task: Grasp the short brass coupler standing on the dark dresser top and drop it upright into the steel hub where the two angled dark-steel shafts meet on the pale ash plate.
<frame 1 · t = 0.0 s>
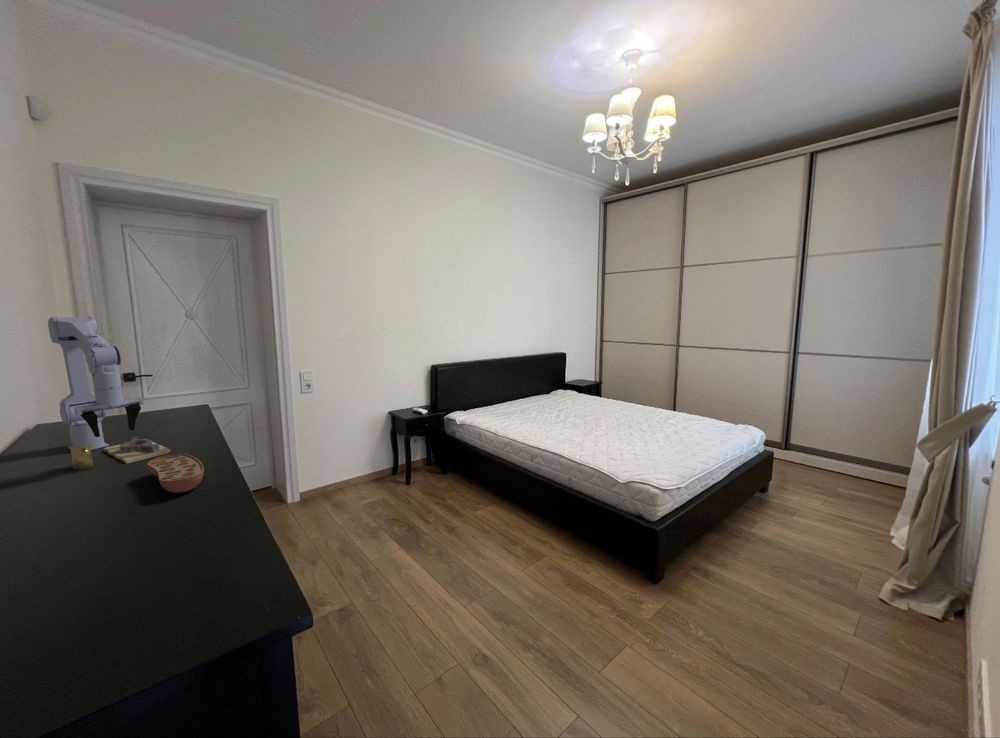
hand: (114, 432, 118), 10 cm above the dresser, fingers open, 7 cm apart
coupling plate: (137, 451, 130), on the dresser
brass coupler: (83, 466, 118), on the dresser
anatomical model: (179, 483, 108), on the dresser
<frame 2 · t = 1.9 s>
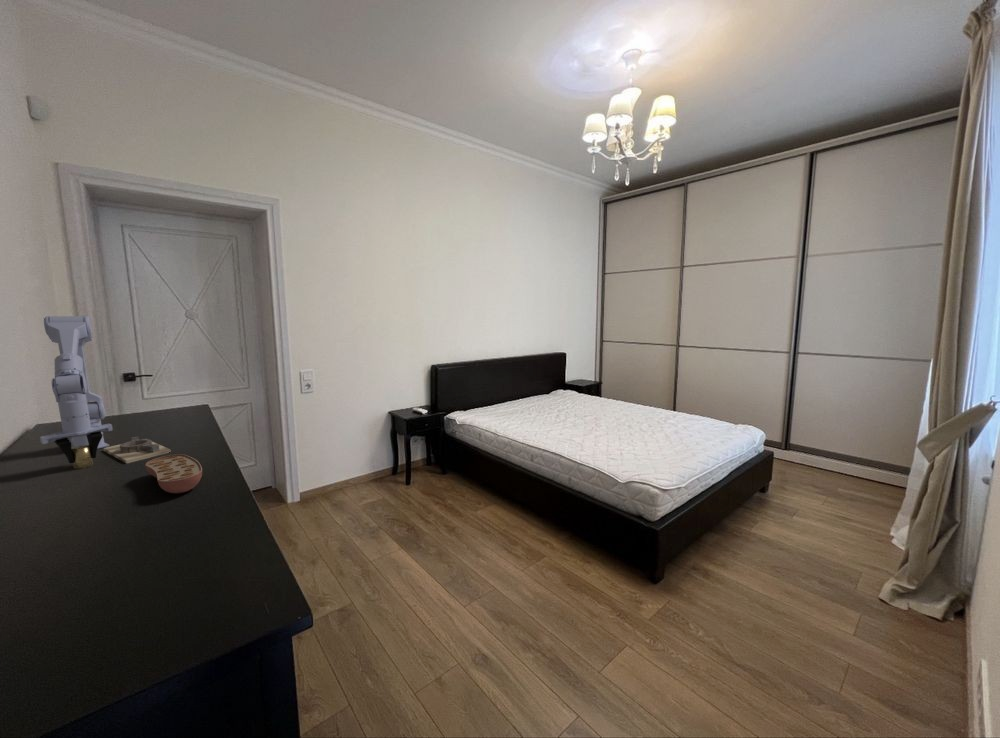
hand: (82, 460, 118), 2 cm above the dresser, fingers closed on brass coupler, 4 cm apart
brass coupler: (83, 466, 118), on the dresser, touching gripper
everything else where it was.
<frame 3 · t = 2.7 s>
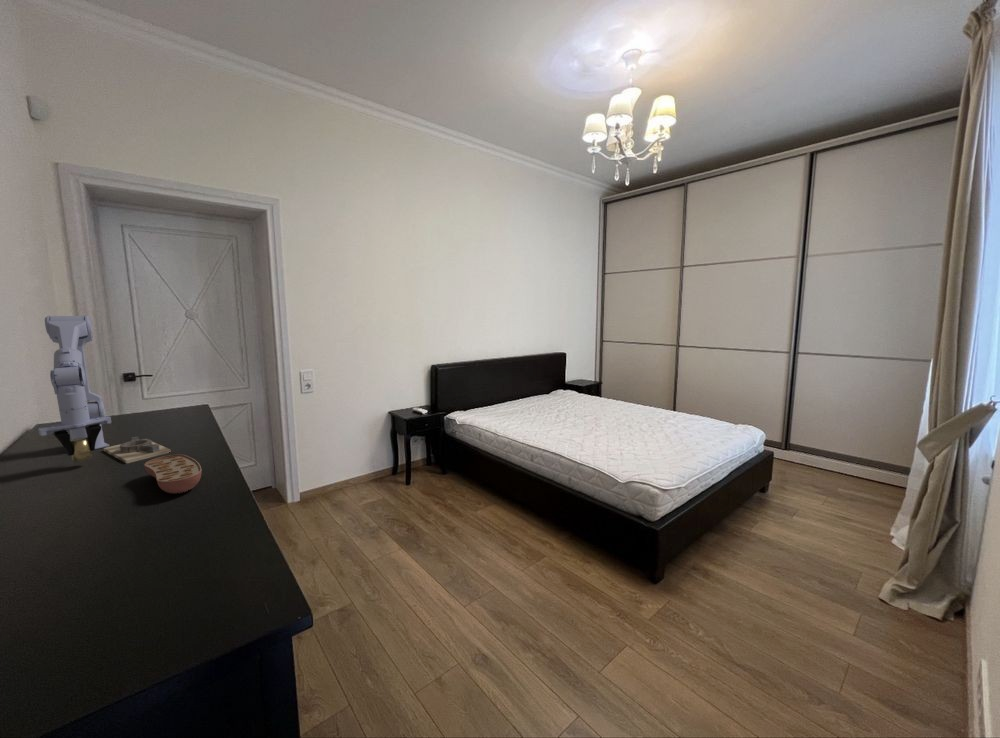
hand: (81, 452, 118), 4 cm above the dresser, fingers closed on brass coupler, 4 cm apart
brass coupler: (82, 458, 118), point 2 cm above the dresser, touching gripper
everything else where it was.
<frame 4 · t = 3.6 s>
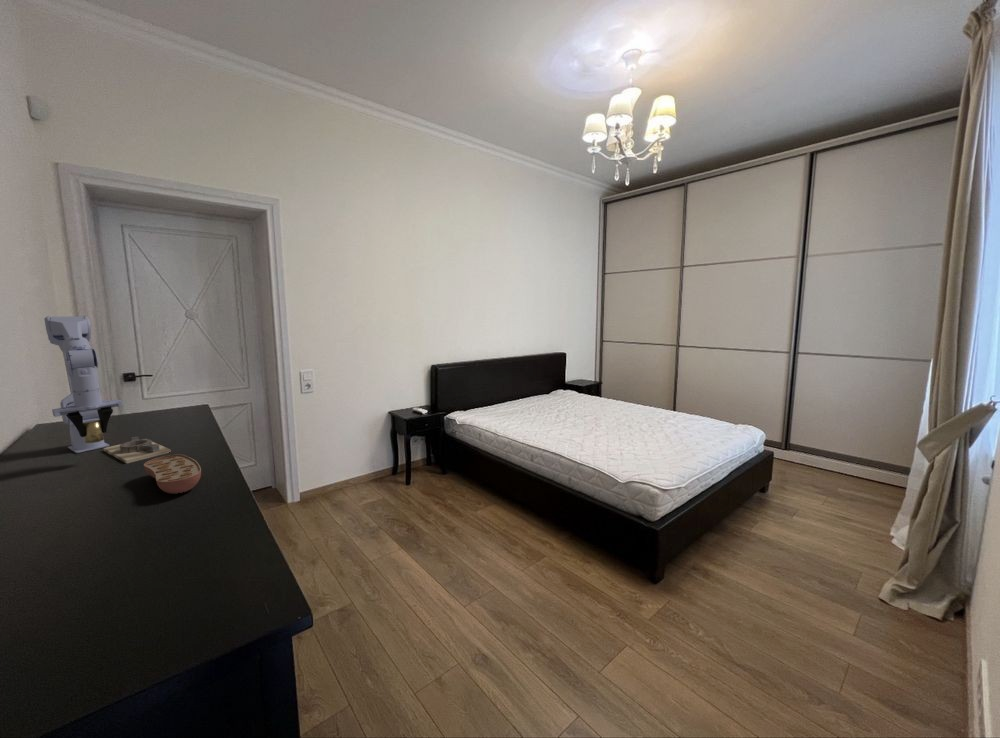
hand: (93, 434, 120), 9 cm above the dresser, fingers closed on brass coupler, 4 cm apart
brass coupler: (94, 440, 120), point 7 cm above the dresser, touching gripper
everything else where it was.
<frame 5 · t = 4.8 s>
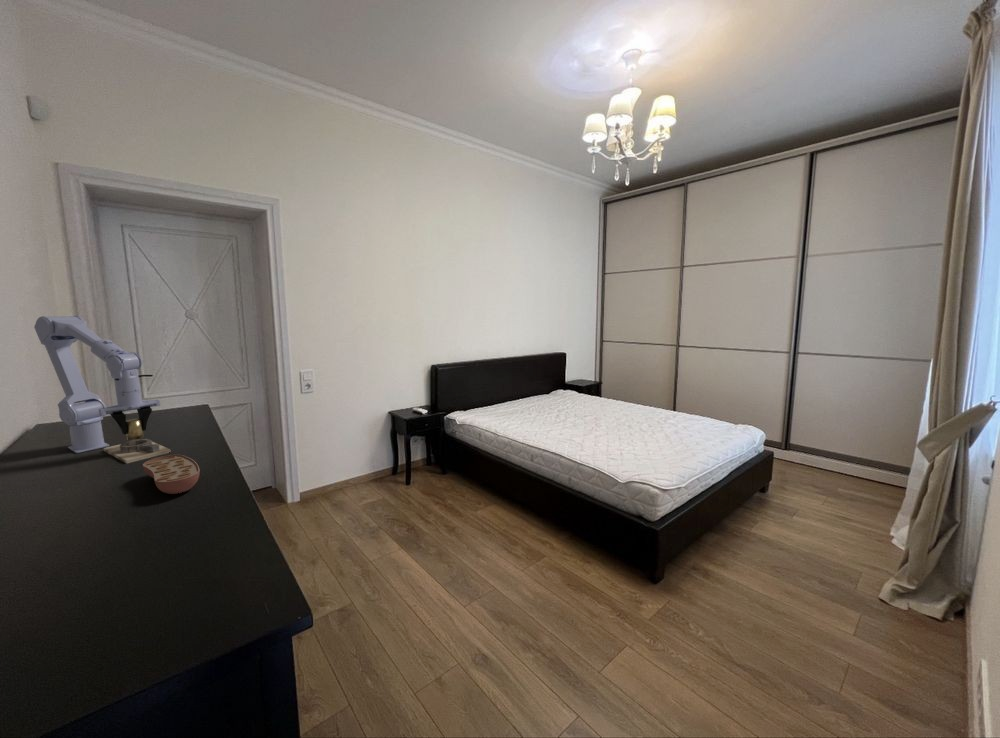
hand: (134, 431, 129), 7 cm above the dresser, fingers closed on brass coupler, 4 cm apart
brass coupler: (135, 438, 130), point 5 cm above the dresser, touching gripper
everything else where it was.
when the fingers open (4 cm above the dresser, at t = 5.7 s): brass coupler stays where it is, resting on coupling plate.
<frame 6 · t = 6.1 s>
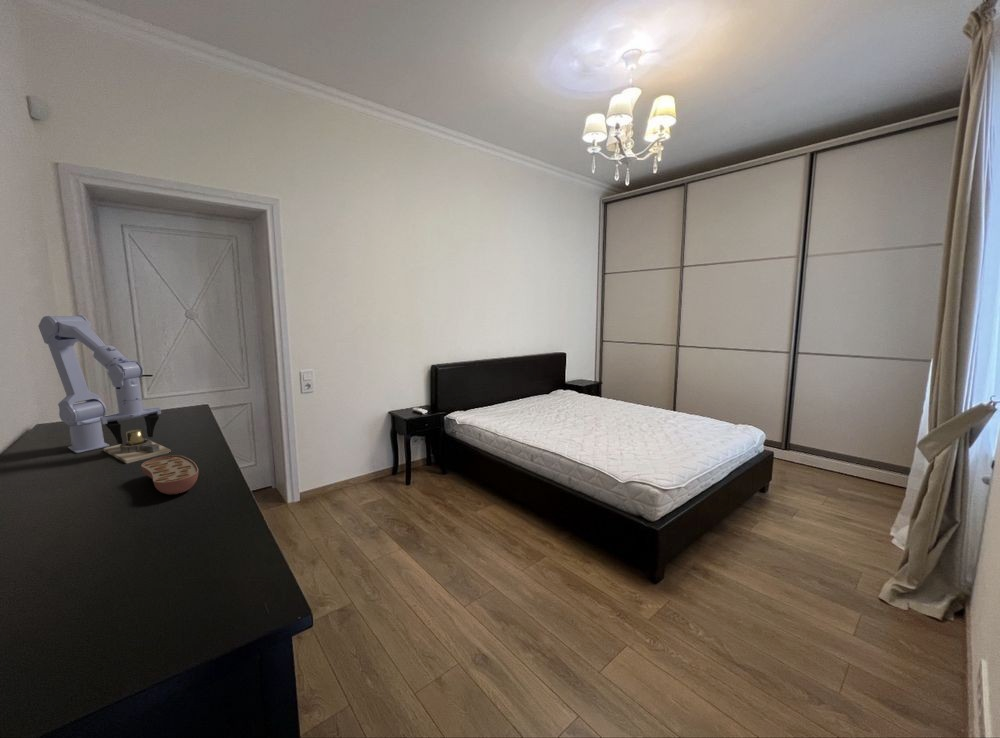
hand: (135, 439, 130), 4 cm above the dresser, fingers open, 7 cm apart
brass coupler: (136, 448, 130), point 1 cm above the dresser, touching coupling plate
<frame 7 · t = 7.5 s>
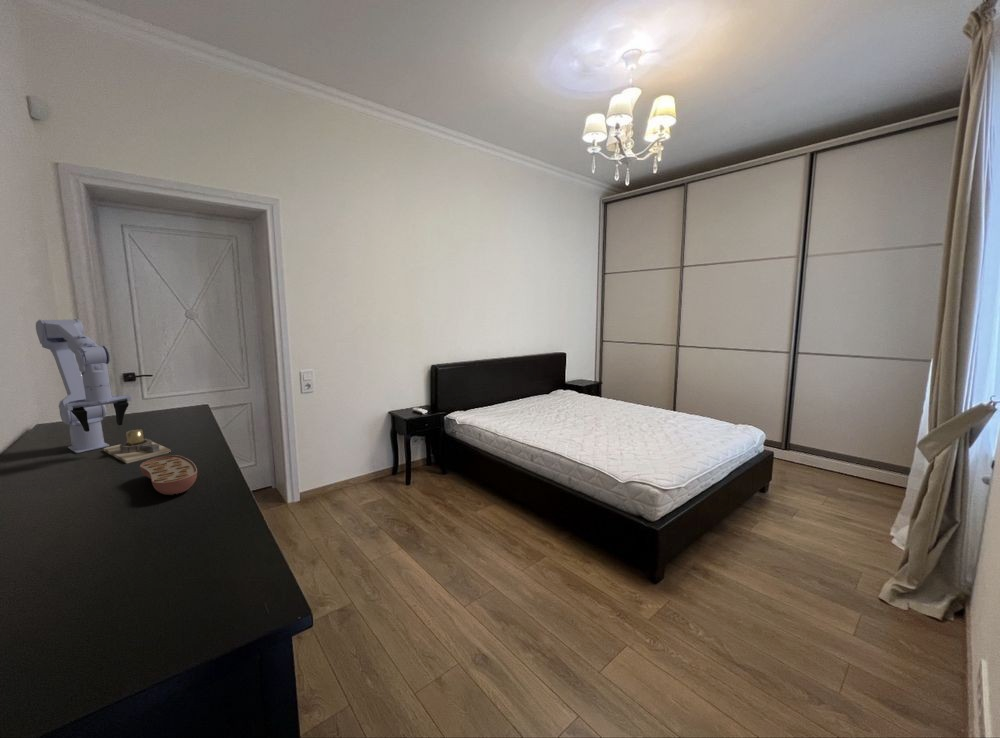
hand: (103, 427, 125), 9 cm above the dresser, fingers open, 7 cm apart
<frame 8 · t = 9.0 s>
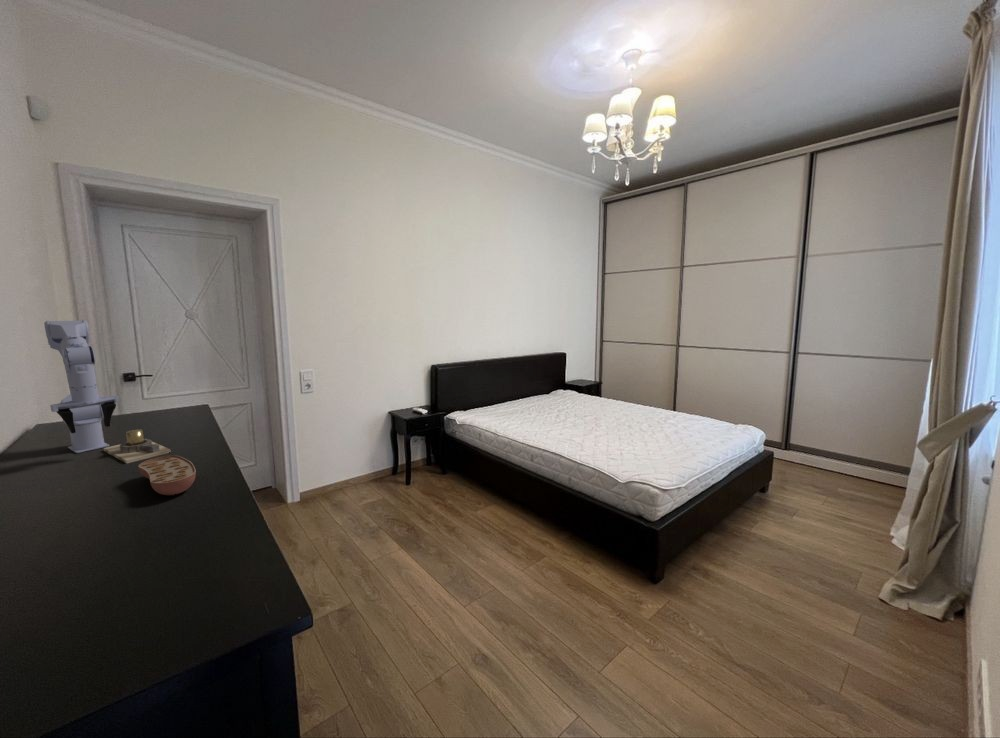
hand: (90, 429, 123), 9 cm above the dresser, fingers open, 7 cm apart
at the end: brass coupler 0.1 cm off-centre on the coupling plate, point 1.0 cm above the coupling plate's base; brass coupler tilted 0°; the gripper is holding nothing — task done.
